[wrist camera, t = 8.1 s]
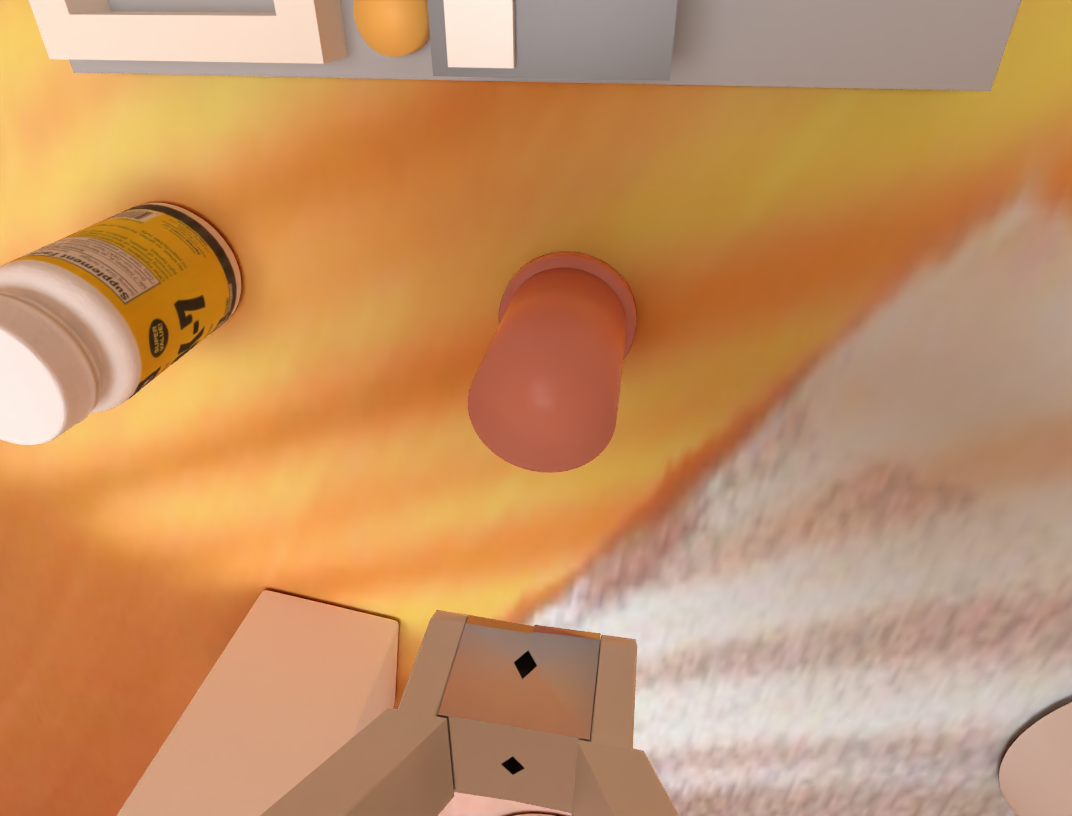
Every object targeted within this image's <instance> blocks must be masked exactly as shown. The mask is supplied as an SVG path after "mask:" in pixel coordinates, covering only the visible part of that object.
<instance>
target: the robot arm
mask: <svg viewBox="0 0 1072 816" xmlns="http://www.w3.org/2000/svg"><path fill="white" fill-rule="evenodd" d="M600 635H601V634H600V633H592V632H585V631H577V630H569V629H562V628H554V627H547V626H539V625H535V626H529V625H524V624H518V623H512V622H506V621H500V620H495V619H489V618H483V617H477V616H472V615H466V614H459V613H453V612H446V611H440V610H437V611H436V612H435V614H434V615H433V616H432V618H431V619H430V622H429V625H428V627H427V630H426V633H425V635H424V638H423V641H422V644H421V646H420V649H419V652H418V654H417V657H416V660H415V663H414V665H413V668H412V671H411V674H410V676H409V679H408V682H407V684H406V687H405V690H404V693H403V695H402V698H401V701H400V703H399V706H398V709H391V708H387V709H386V710H384V711H383V712H382V713H381V714H380V715H379V716H377V717H376V718H375V719H374V720H373V721H371V722H370V723H369V724H368V725H367V726H366V727H364V728H363V729H362V730H361V731H360V732H358V733H357V734H356V735H355V736H354V737H353V738H351V739H350V740H349V741H348V742H347V743H345V744H344V745H343V746H342V747H341V748H340V749H338V750H337V751H336V752H335V753H334V754H332V755H331V756H330V757H329V758H328V759H327V760H325V761H324V762H323V763H322V764H321V765H319V766H318V767H317V768H316V769H315V770H313V771H312V772H311V773H310V774H309V775H308V776H306V777H305V778H304V779H303V780H302V781H300V782H299V783H298V784H297V785H296V786H295V787H293V788H292V789H291V790H290V791H289V792H287V793H286V794H285V795H284V796H283V797H282V798H280V799H279V800H278V801H277V802H276V803H274V804H273V805H272V806H271V807H270V808H269V809H267V810H266V811H265V812H264V813H263V814H261V815H260V816H438V814H439V813H440V812H441V811H442V810H443V809H444V807H445V806H446V805H447V804H448V803H449V802H450V800H451V799H452V798H453V797H454V792H459V793H465V794H472V795H479V796H485V797H492V798H499V799H505V800H512V801H517V802H521V803H526V804H531V805H536V806H540V807H545V808H550V809H555V810H560V811H564V812H569V813H572V816H679V815H678V813H677V811H676V809H675V808H674V806H673V804H672V802H671V800H670V798H669V797H668V795H667V793H666V791H665V789H664V787H663V786H662V784H661V782H660V780H659V778H658V777H657V775H656V773H655V771H654V769H653V767H652V766H651V764H650V762H649V760H648V758H647V756H646V755H645V753H644V751H642V750H637V749H633V730H634V707H635V684H636V662H637V644H636V639H629V638H622V637H614V636H607V635H602V636H601V639H600ZM999 784H1000V788H1001V792H1002V794H1003V796H1004V798H1005V800H1006V801H1007V803H1008V804H1009V805H1010V807H1011V808H1012V809H1013V810H1014V812H1015V813H1016V814H1017V815H1018V816H1072V702H1071V703H1069V704H1067V705H1064V706H1062V707H1061V708H1059V709H1057V710H1055V711H1053V712H1051V713H1050V714H1048V715H1046V716H1045V717H1043V718H1042V719H1040V720H1039V721H1037V722H1036V723H1034V724H1033V725H1032V726H1031V727H1029V728H1028V729H1027V730H1026V731H1025V732H1023V733H1022V734H1021V735H1020V736H1019V737H1018V738H1017V739H1016V740H1015V742H1014V743H1013V744H1012V745H1011V747H1010V748H1009V749H1008V751H1007V753H1006V754H1005V756H1004V758H1003V760H1002V763H1001V766H1000V771H999Z"/></svg>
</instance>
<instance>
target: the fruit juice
mask: <svg viewBox="0 0 1072 816" xmlns="http://www.w3.org/2000/svg"><path fill="white" fill-rule="evenodd" d="M513 816H555V815H547V814H519V815H513Z"/></svg>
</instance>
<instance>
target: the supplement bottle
mask: <svg viewBox="0 0 1072 816" xmlns="http://www.w3.org/2000/svg"><path fill="white" fill-rule="evenodd" d="M240 294H241V275H240V270H239V267H238V264H237V261H236V259H235V257H234V254H233V253H232V251H231V249H230V247H229V246H228V244H227V243H226V242H225V240H224V239H223V238H222V237H221V235H220V234H219V233H218V232H217V231H216V230H215V229H214V228H213V227H212V226H211V225H209V224H208V223H207V222H206V221H204V220H203V219H202V218H200V217H198V216H197V215H195V214H193V213H192V212H190V211H187V210H185V209H183V208H181V207H178V206H175V205H171V204H167V203H147V204H142V205H138V206H136V207H133V208H131V209H129V210H125V211H123V212H122V213H119V214H117V215H115V216H112V217H110V218H108V219H105V220H103V221H101V222H99V223H96V224H94V225H92V226H90V227H87V228H85V229H83V230H80V231H78V232H76V233H74V234H72V235H69V236H67V237H65V238H63V239H61V240H58V241H56V242H54V243H51V244H49V245H47V246H45V247H42V248H40V249H38V250H36V251H34V252H31V253H29V254H27V255H24V256H22V257H20V258H18V259H15V260H13V261H11V262H9V263H6V264H5V265H3V266H1V267H0V439H1V440H4V441H8V442H11V443H15V444H22V445H36V444H42V443H46V442H49V441H51V440H53V439H55V438H56V437H58V436H59V435H61V434H62V433H64V432H65V431H67V430H68V429H69V428H71V427H72V426H74V425H75V424H77V423H79V422H81V421H83V420H84V419H85V418H86V417H87V416H88V415H89V414H90V413H95V412H102V411H106V410H109V409H112V408H114V407H116V406H118V405H120V404H122V403H123V402H125V401H126V400H128V399H129V398H131V397H132V396H133V395H135V394H136V393H137V392H138V391H139V390H140V389H141V388H143V387H144V386H145V385H147V384H148V383H149V382H150V381H152V380H153V379H154V378H155V377H157V376H158V375H159V374H160V373H161V372H163V371H164V370H165V369H167V368H168V367H169V366H170V365H171V364H173V363H174V362H176V361H177V360H178V359H179V358H180V357H182V356H183V355H184V354H185V353H187V352H188V351H189V350H190V349H192V348H193V347H194V346H195V345H197V344H198V343H199V342H200V341H202V340H203V339H204V338H206V337H207V336H208V335H209V334H211V333H212V332H213V331H215V330H216V329H217V328H218V327H220V326H221V325H222V324H223V323H224V322H226V321H227V320H228V319H229V318H230V317H231V315H232V314H233V313H234V311H235V309H236V307H237V305H238V303H239V299H240Z"/></svg>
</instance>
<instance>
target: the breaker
mask: <svg viewBox="0 0 1072 816" xmlns="http://www.w3.org/2000/svg"><path fill="white" fill-rule="evenodd" d="M677 1H678V0H427V5H428V18H429V30H430V43H431V56H432V69H433V76H450V77H501V78H553V79H604V80H656V81H670V73H671V63H672V52H673V42H674V32H675V21H676V11H677Z"/></svg>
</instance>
